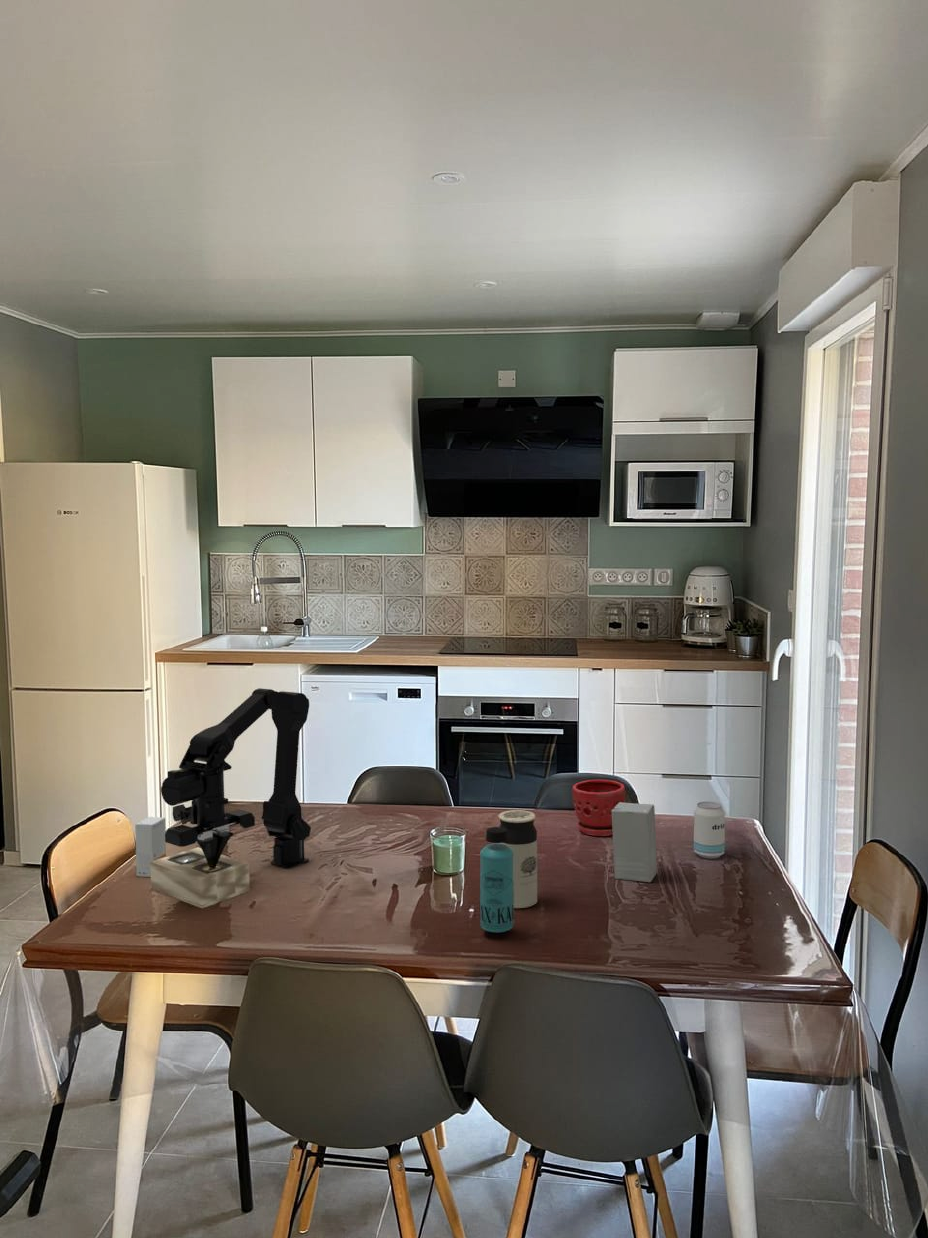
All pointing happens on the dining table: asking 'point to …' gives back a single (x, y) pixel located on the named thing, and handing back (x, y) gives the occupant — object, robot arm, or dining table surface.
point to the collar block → (199, 878)
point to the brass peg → (211, 868)
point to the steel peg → (186, 859)
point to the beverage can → (709, 830)
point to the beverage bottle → (496, 883)
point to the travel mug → (522, 854)
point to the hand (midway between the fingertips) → (212, 867)
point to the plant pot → (597, 805)
